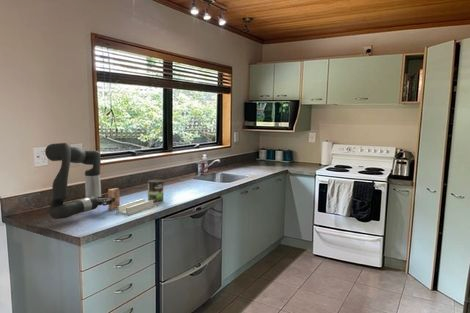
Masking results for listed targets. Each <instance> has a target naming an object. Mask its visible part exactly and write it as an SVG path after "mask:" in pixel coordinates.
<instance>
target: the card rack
mask: <svg viewBox="0 0 470 313" xmlns="http://www.w3.org/2000/svg"><path fill="white" fill-rule="evenodd" d="M155 206H156V205H155V204H154V203H153V200H149V201H148V200H147V201H146V198H141V199H137V200H134V201H131V202H127V203H124V204H121V205H120V206H117V209H116V211H115V212H116V214H121V215H127V216H131V215H133V214H136V213H140V212H142V211H146V210H148V209H150V208H151V209H152V208H155Z"/></svg>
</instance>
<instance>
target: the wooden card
mask: <svg viewBox="0 0 470 313" xmlns="http://www.w3.org/2000/svg"><path fill="white" fill-rule="evenodd" d="M110 198H115V201H114V202H112V204H109V205H108V210H110V211H113V210H117V206H120V198H121V197H120V188H118V187H114V188H109V189H108V190H107V199H110Z"/></svg>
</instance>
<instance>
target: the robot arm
mask: <svg viewBox="0 0 470 313" xmlns="http://www.w3.org/2000/svg"><path fill="white" fill-rule="evenodd" d="M44 152H45V153H44V154H45V157H46V158H47V159H48V160H49V161H52V162H59V161H60V162H61V165H60V168H59V170H58V172H57V174H56V176H55V178H54V179H53V182H52V187H51V188H52V191H51V192H52V193H51V194H52V195H51V196H52V198H51V201H50V205H49V215H50V217H51V218H52V219H54V220H59V219H66V218H67V219H68V218H70V217H72V216H75V215H78V214H82V213H87V212H90V211H93V210H96V209H97V208H98V206H109V204H112V202H114V201H115V198H110V199H108V198H106V196H105V195H102V186H101V152H100V151H99V150H84V149H82V148H80V147H75V146H70V144H69V143H66V142H61V143H60V142H59V143H51V144H48V145H47V146H46V148H45V150H44ZM71 163H72V164H83V165H85V166H87V165H89V166H91V165H92V167H91V168H90V169H86V170H85V171H84V183H85V184H84V186H85V187H84V189H85V197H84V198H81V199H78V200H75V201H72V202H69V203H65V204H64V201H66V200H67V199H68V179H69V172H70V166H71Z"/></svg>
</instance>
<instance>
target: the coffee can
mask: <svg viewBox="0 0 470 313" xmlns="http://www.w3.org/2000/svg"><path fill="white" fill-rule="evenodd" d="M149 200H153V205H155V204H161V203H164V180H163V179H158V178H157V179H156V178H155V179H148V180H147V201H149Z"/></svg>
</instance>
